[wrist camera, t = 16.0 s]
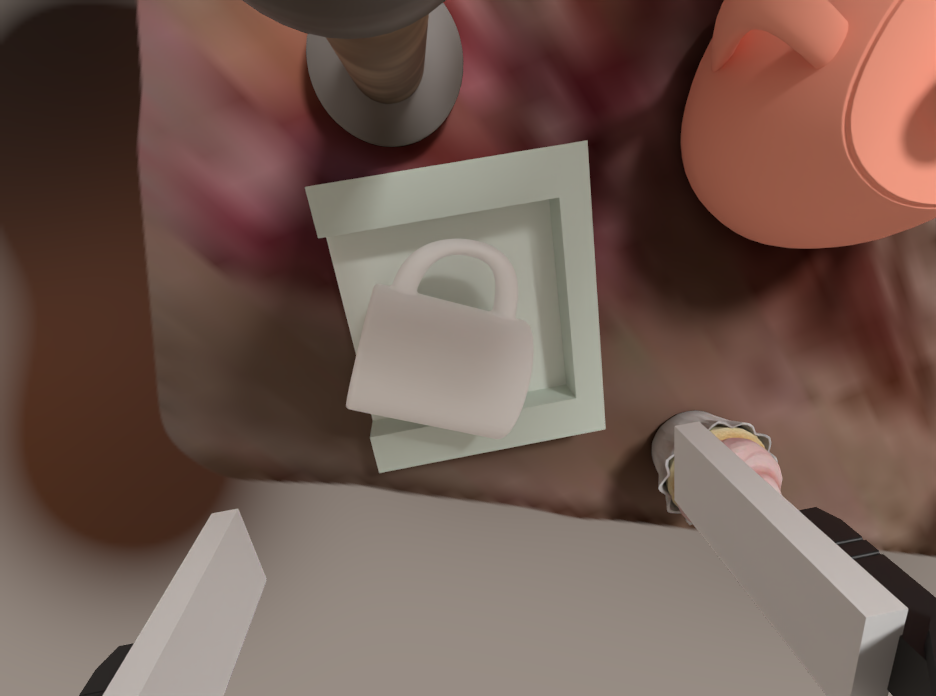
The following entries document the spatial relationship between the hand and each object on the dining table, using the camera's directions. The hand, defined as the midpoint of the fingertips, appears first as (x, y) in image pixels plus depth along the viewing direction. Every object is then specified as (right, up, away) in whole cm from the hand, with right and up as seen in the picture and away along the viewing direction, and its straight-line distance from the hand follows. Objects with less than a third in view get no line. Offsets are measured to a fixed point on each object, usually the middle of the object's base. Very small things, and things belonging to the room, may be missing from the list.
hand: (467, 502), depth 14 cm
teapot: (+23, +20, +19) cm, 36 cm away
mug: (-2, +7, +20) cm, 21 cm away
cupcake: (+19, -3, +27) cm, 33 cm away
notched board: (0, +7, +21) cm, 22 cm away
